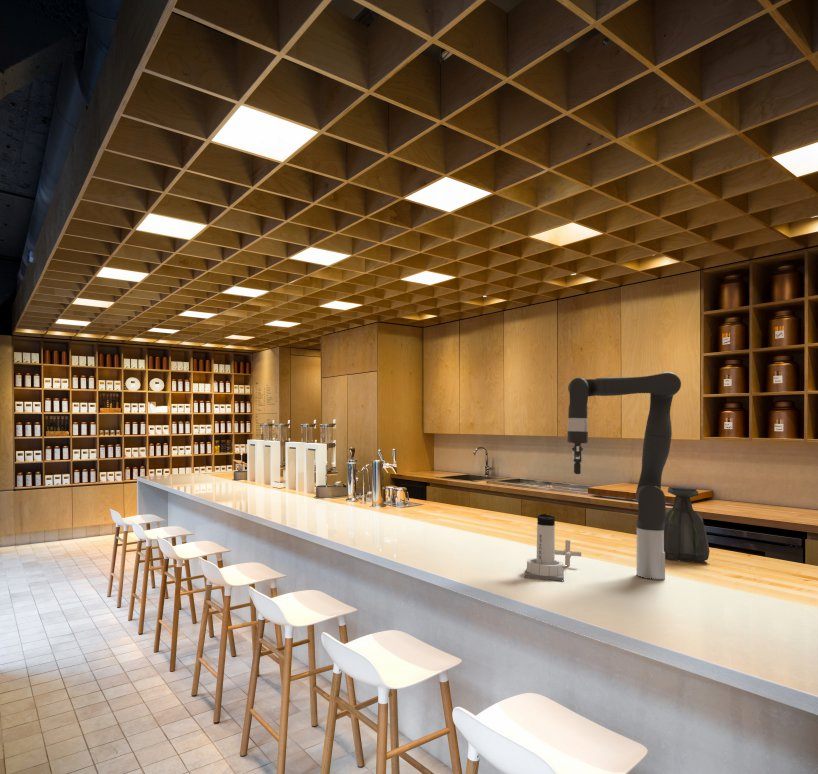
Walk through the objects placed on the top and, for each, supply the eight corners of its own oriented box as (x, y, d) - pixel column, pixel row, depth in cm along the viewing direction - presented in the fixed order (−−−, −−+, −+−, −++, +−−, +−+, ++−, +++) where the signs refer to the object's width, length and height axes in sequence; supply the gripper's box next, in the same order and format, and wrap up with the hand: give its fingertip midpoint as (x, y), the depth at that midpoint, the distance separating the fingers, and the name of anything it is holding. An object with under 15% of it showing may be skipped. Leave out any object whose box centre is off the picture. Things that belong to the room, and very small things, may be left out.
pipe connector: (582, 570, 217) (582, 543, 218) (554, 568, 219) (555, 541, 220) (579, 564, 227) (580, 538, 227) (553, 562, 229) (554, 537, 229)
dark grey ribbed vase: (664, 560, 242) (664, 488, 244) (656, 553, 258) (657, 485, 260) (711, 564, 238) (710, 490, 240) (700, 556, 253) (700, 487, 256)
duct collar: (563, 573, 211) (563, 560, 212) (563, 581, 198) (563, 567, 199) (527, 569, 215) (527, 556, 215) (524, 577, 202) (524, 563, 202)
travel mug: (551, 569, 210) (551, 514, 212) (556, 574, 204) (557, 516, 205) (534, 569, 210) (535, 513, 212) (539, 573, 203) (539, 516, 205)
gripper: (588, 430, 212) (588, 475, 210) (587, 431, 226) (586, 473, 224) (567, 429, 214) (566, 474, 212) (567, 430, 227) (566, 472, 226)
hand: (577, 473), depth 218 cm, fingers open, 8 cm apart
